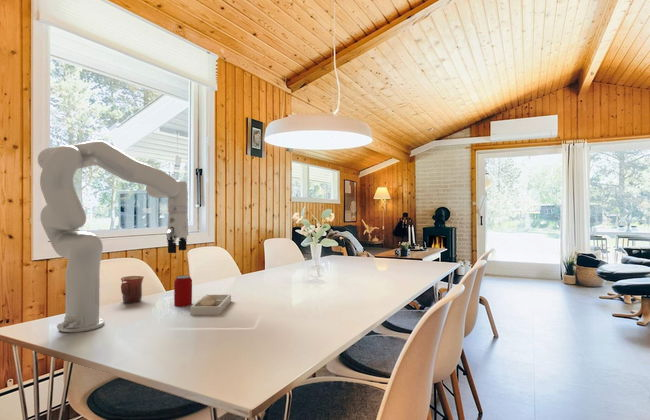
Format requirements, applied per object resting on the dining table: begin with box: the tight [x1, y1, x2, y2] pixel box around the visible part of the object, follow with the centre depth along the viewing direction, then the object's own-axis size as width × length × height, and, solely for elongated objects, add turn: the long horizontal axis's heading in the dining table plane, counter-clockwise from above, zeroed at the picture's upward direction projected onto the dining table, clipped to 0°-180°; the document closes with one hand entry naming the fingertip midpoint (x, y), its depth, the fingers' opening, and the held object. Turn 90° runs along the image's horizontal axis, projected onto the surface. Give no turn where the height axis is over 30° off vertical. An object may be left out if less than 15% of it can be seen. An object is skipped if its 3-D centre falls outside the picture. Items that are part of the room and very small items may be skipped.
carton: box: [189, 294, 232, 316], centre depth 148 cm, size 20×11×4 cm, turn 2°
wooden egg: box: [201, 294, 217, 306], centre depth 143 cm, size 6×6×6 cm
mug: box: [120, 275, 145, 304], centre depth 157 cm, size 12×9×10 cm
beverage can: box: [173, 275, 193, 308], centre depth 152 cm, size 7×7×12 cm
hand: (177, 251), depth 155 cm, fingers open, 9 cm apart
